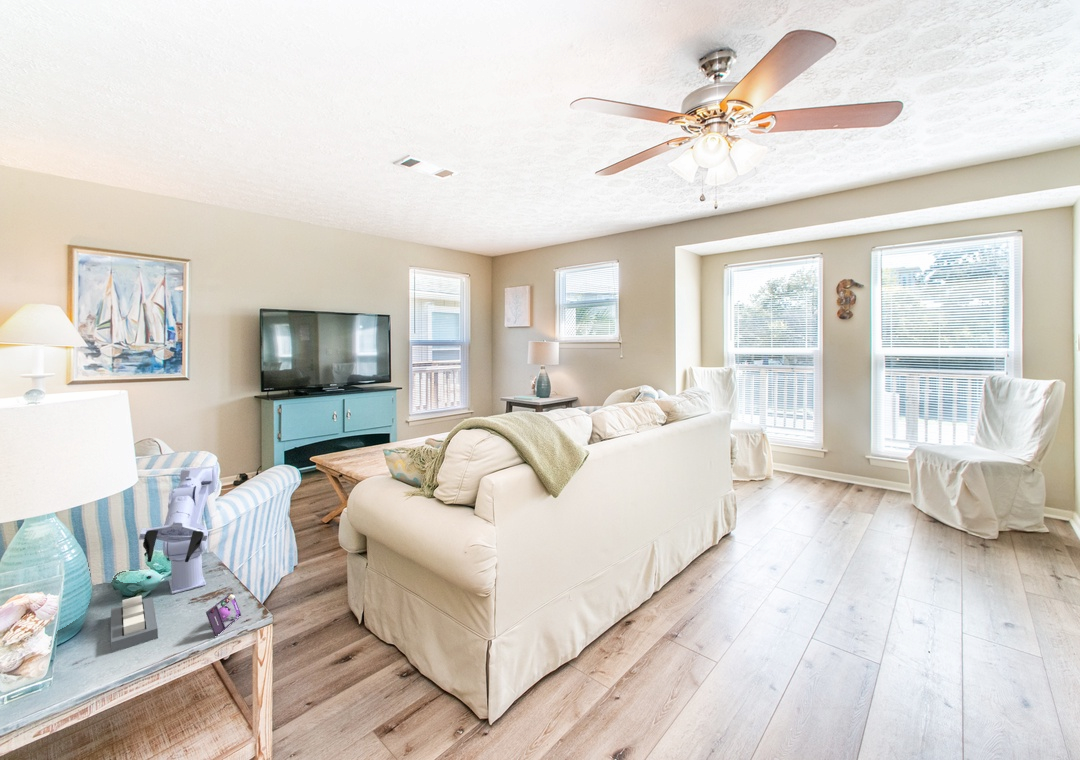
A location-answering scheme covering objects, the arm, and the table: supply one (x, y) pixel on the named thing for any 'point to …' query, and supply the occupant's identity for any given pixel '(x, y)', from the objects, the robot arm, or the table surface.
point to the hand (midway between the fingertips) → (168, 559)
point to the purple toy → (221, 614)
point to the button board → (138, 637)
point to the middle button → (132, 611)
